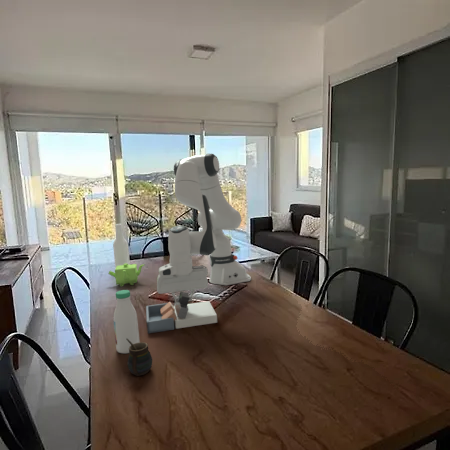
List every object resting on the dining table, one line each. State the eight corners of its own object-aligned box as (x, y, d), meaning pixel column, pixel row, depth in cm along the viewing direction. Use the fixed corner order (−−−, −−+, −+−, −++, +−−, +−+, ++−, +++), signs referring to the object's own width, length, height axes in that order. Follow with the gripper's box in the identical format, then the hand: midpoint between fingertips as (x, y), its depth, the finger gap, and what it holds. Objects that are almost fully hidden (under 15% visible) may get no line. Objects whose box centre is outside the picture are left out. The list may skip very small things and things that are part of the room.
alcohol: (112, 272, 218) (108, 224, 213) (124, 268, 225) (119, 222, 221) (122, 273, 213) (117, 225, 208) (133, 270, 220) (128, 223, 216)
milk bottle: (144, 345, 120) (139, 289, 117) (129, 355, 113) (123, 296, 110) (127, 341, 123) (121, 287, 120) (111, 352, 116) (105, 294, 113)
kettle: (146, 281, 194) (145, 262, 192) (127, 289, 182) (124, 268, 181) (128, 278, 202) (126, 259, 201) (108, 285, 190) (106, 265, 189)
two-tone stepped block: (181, 305, 146) (186, 290, 146) (185, 318, 133) (190, 301, 132) (174, 304, 146) (179, 288, 145) (177, 316, 132) (183, 299, 132)
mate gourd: (147, 379, 99) (144, 346, 98) (123, 378, 101) (119, 345, 99) (157, 365, 106) (153, 334, 105) (133, 364, 108) (130, 334, 106)
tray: (170, 312, 147) (169, 302, 147) (174, 329, 131) (173, 318, 130) (147, 316, 145) (146, 305, 144) (147, 333, 129) (146, 322, 128)
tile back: (173, 305, 145) (170, 301, 145) (174, 310, 141) (171, 305, 140) (163, 313, 145) (160, 309, 144) (164, 318, 140) (160, 313, 139)
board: (209, 307, 150) (209, 301, 150) (217, 322, 135) (216, 315, 135) (172, 312, 147) (171, 306, 146) (175, 328, 131) (175, 321, 131)
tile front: (175, 313, 137) (171, 308, 137) (176, 318, 132) (172, 313, 132) (165, 321, 137) (161, 316, 136) (166, 326, 132) (162, 321, 131)
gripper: (206, 263, 143) (207, 295, 144) (155, 268, 138) (157, 301, 140) (208, 266, 136) (210, 300, 138) (155, 272, 132) (158, 307, 134)
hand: (183, 301), depth 139 cm, fingers open, 4 cm apart
